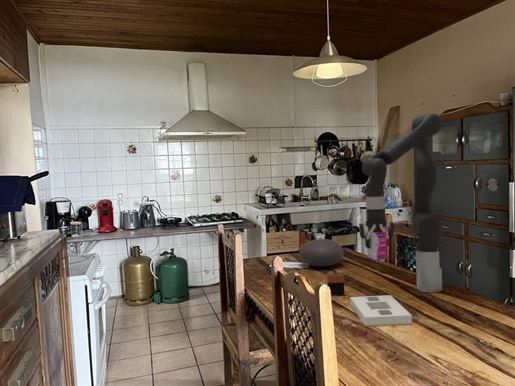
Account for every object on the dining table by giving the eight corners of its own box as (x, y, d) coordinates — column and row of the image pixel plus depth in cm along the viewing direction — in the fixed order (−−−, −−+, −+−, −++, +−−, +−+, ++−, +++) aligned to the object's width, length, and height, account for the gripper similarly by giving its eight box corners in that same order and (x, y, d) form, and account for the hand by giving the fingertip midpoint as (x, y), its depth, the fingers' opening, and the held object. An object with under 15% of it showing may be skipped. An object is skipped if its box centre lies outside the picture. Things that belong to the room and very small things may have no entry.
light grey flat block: (390, 302, 157) (390, 294, 157) (411, 323, 135) (411, 314, 135) (350, 304, 157) (350, 296, 157) (365, 326, 136) (364, 316, 135)
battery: (344, 295, 169) (343, 272, 169) (328, 296, 170) (327, 273, 169) (343, 292, 173) (342, 270, 173) (327, 292, 174) (326, 270, 173)
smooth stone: (291, 264, 229) (290, 239, 229) (327, 258, 240) (326, 234, 239) (315, 273, 207) (314, 245, 206) (353, 266, 217) (352, 239, 217)
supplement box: (375, 261, 159) (374, 233, 158) (367, 258, 165) (366, 231, 164) (387, 259, 160) (386, 231, 160) (379, 256, 166) (378, 229, 166)
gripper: (390, 205, 165) (391, 245, 166) (355, 207, 165) (357, 246, 166) (396, 207, 158) (397, 248, 159) (360, 209, 158) (361, 250, 159)
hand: (377, 247), depth 162 cm, fingers closed on supplement box, 6 cm apart
